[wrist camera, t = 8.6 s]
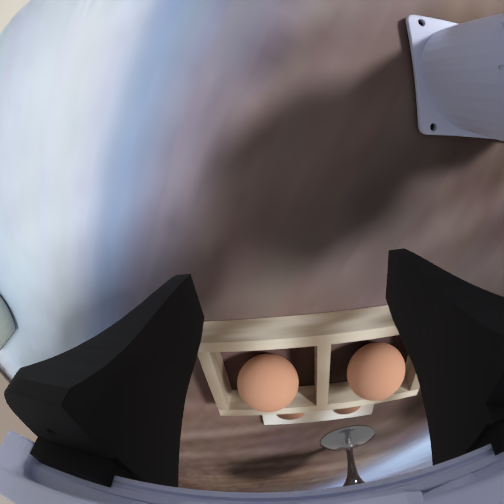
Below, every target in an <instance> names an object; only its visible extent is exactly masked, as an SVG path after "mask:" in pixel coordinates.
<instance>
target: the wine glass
mask: <svg viewBox="0 0 504 504" xmlns="http://www.w3.org/2000/svg"><path fill="white" fill-rule="evenodd" d="M374 435H375V431H374V429H373V428H371V427H368V426H349V427H344V428H341V429H337V430H335V431H332V432H330V433H329V434H327V435H325V436H324V437H323V438H322V440H321V446H322V447H323V448H325V449H328V450H333V451H343V450H346V452H347V459H348V471H347V478H346V481H345V483H344V485H343V486H349V485H355V484H361V483H365V482H364V481H363V480H362V479H361V478H360V476H359V475H358V472H357V469H356V466H355V462H354V457H353V448H357V447H359V446H362V445H364V444H366V443H367V442H369V441H370V440H371V439H372V438H373V437H374Z"/></svg>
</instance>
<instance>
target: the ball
mask: <svg viewBox="0 0 504 504" xmlns="http://www.w3.org/2000/svg"><path fill="white" fill-rule="evenodd" d="M404 376H405V362H404V359H403V357H402V355H401V353H400V352H399V351H398V350H397V349H396V348H395V347H393V346H392V345H390V344H387V343H384V342H374V343H369V344H367V345H365V346H363V347H361V348H360V349H359V350H357V351H356V352H355V353H354V355H353V356H352V358H351V359H350V362H349V364H348V368H347V380H348V383H349V386H350V388H351V389H352V391H353V392H354V393H355V394H356V395H357V396H359V397H361V398H363V399H365V400H370V401H378V400H383V399H385V398H388V397H389V396H391V395H392V394H394V393H395V392H396V391H397V390H398V389H399V387H400V386H401V384H402V382H403V380H404Z"/></svg>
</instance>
